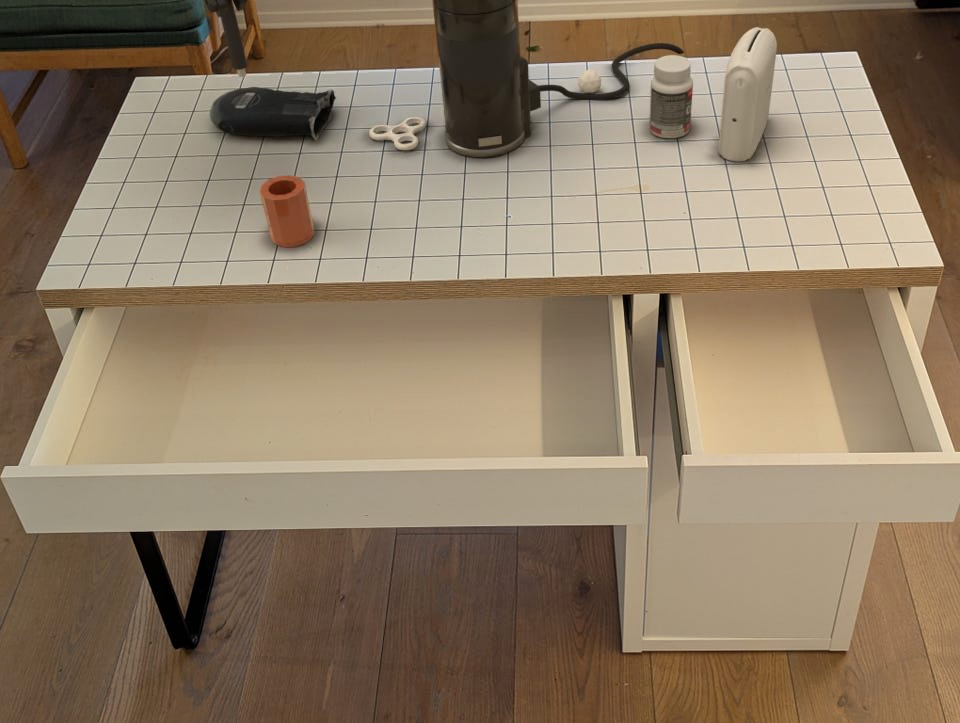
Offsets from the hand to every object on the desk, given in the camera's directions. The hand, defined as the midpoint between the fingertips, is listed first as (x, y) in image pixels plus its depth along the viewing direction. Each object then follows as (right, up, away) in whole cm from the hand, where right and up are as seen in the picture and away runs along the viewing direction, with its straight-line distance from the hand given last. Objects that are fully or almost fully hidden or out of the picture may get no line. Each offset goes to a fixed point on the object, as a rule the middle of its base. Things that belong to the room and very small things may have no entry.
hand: (232, 9), depth 105 cm
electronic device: (-2, -5, +29) cm, 30 cm away
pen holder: (+4, -21, +11) cm, 24 cm away
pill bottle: (+46, -7, +21) cm, 52 cm away
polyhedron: (+38, -1, +29) cm, 48 cm away
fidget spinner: (+15, -8, +24) cm, 29 cm away
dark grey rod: (-1, -5, +7) cm, 8 cm away
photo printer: (+54, -9, +19) cm, 58 cm away
